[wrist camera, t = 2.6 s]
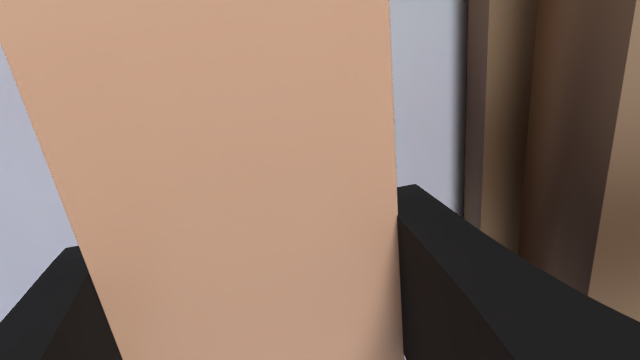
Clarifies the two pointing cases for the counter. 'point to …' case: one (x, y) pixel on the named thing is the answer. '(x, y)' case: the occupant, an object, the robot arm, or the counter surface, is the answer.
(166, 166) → the clay strip
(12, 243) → the counter surface
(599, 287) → the brown wooden stand
